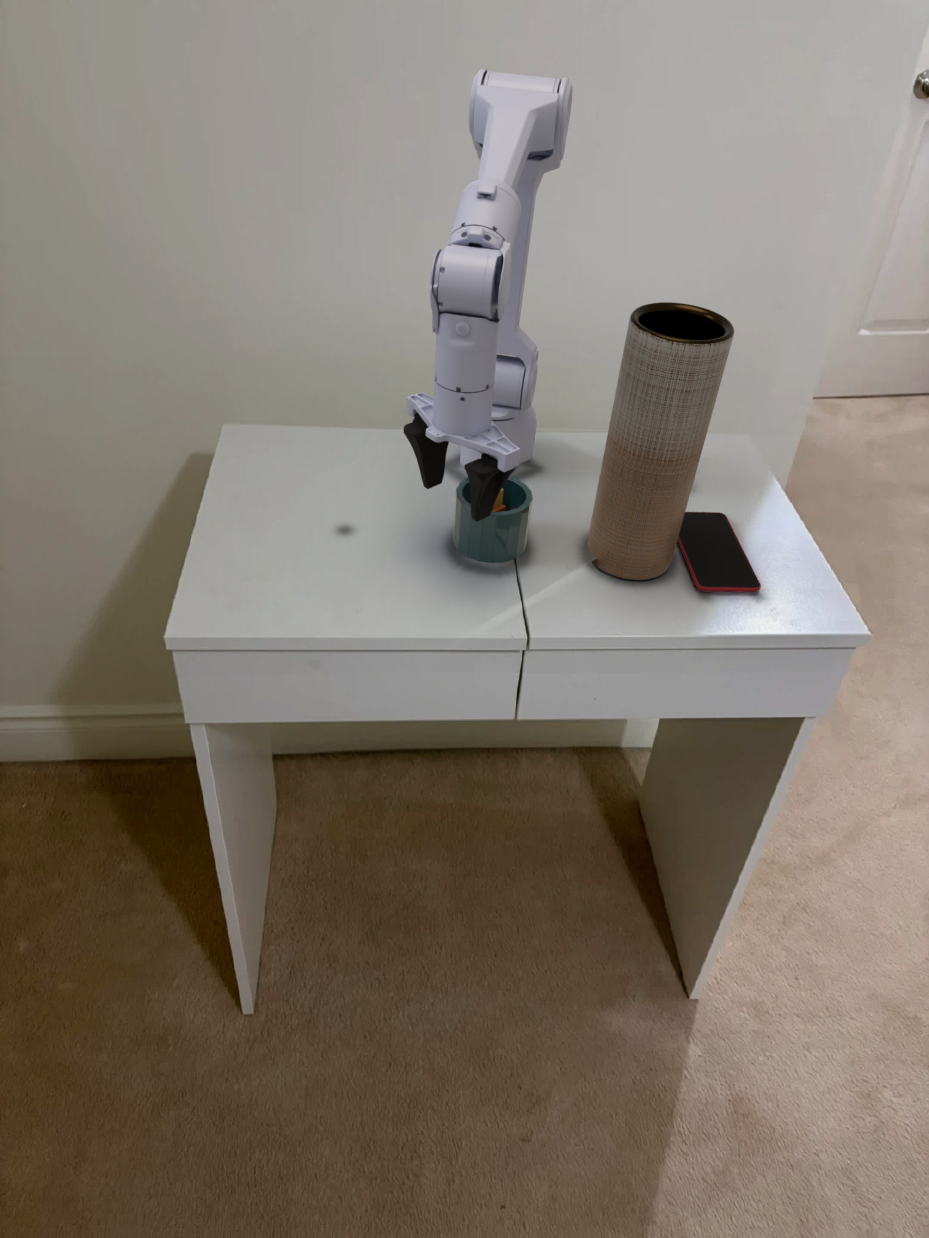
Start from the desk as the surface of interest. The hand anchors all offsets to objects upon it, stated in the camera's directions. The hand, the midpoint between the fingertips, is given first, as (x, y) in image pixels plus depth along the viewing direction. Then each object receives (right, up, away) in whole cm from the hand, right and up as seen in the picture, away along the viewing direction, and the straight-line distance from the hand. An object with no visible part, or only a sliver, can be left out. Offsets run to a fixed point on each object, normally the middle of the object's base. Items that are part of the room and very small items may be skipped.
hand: (456, 500), depth 89 cm
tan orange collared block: (+2, -2, +5) cm, 6 cm away
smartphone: (+30, -5, +11) cm, 32 cm away
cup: (+4, -4, +9) cm, 10 cm away
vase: (+20, -5, +10) cm, 23 cm away
